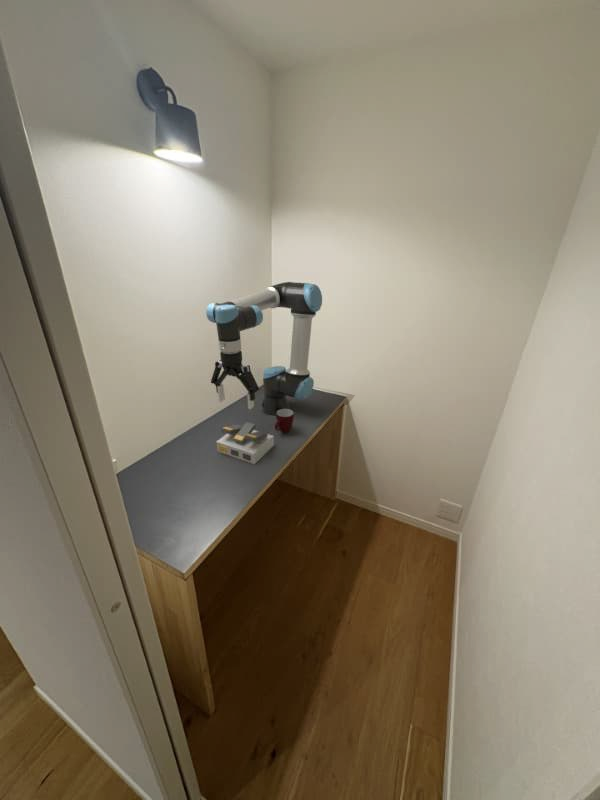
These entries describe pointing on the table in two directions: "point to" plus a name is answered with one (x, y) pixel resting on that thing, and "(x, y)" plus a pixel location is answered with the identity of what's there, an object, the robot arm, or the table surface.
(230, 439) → the switch unit
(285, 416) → the mug
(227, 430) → the rocker
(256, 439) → the rocker
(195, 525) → the table surface
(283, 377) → the robot arm
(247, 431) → the rocker
